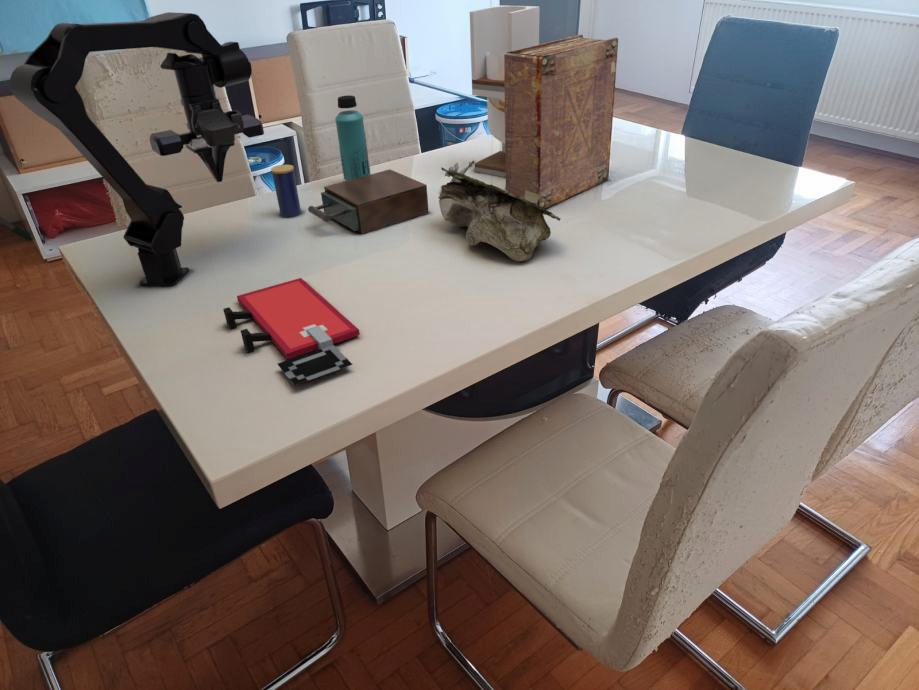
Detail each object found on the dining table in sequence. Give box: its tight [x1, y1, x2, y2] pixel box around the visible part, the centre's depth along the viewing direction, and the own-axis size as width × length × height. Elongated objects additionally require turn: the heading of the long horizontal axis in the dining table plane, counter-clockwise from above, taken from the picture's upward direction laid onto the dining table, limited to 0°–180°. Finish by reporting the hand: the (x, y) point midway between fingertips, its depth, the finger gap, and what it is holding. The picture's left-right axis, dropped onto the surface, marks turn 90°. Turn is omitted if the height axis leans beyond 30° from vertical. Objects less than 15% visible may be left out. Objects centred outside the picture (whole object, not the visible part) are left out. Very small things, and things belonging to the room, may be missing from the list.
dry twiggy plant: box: [444, 160, 476, 182], centre depth 150 cm, size 10×6×9 cm
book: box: [504, 34, 619, 210], centre depth 141 cm, size 25×9×30 cm, turn 136°
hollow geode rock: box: [438, 166, 562, 262], centre depth 125 cm, size 28×13×15 cm
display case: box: [469, 4, 541, 178], centre depth 155 cm, size 11×11×35 cm
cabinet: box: [323, 169, 430, 235], centre depth 141 cm, size 16×14×6 cm
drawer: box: [307, 190, 360, 232], centre depth 139 cm, size 20×13×5 cm, turn 127°
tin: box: [270, 164, 302, 219], centre depth 142 cm, size 5×5×10 cm
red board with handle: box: [223, 277, 361, 386], centre depth 102 cm, size 30×3×15 cm
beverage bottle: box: [334, 94, 372, 181], centre depth 154 cm, size 6×7×20 cm
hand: (219, 181), depth 124 cm, fingers closed
